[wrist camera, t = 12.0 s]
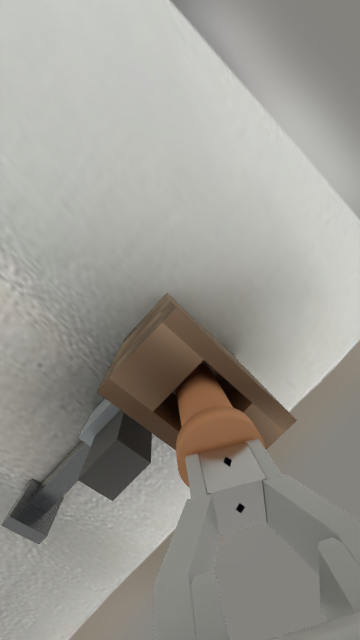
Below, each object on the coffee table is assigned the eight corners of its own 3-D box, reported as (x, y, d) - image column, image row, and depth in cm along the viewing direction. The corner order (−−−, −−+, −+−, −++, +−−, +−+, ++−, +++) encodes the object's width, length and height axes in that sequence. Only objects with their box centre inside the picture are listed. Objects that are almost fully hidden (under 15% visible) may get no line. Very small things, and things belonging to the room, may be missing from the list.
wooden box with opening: (196, 397, 23) (226, 487, 13) (125, 338, 21) (96, 392, 11) (235, 358, 22) (296, 420, 12) (166, 293, 20) (175, 307, 10)
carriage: (128, 438, 22) (114, 516, 15) (90, 412, 21) (55, 482, 14) (166, 399, 22) (171, 460, 15) (129, 370, 21) (114, 420, 14)
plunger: (195, 414, 15) (221, 509, 9) (158, 384, 14) (158, 466, 8) (230, 379, 15) (282, 452, 9) (194, 347, 14) (223, 401, 8)
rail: (56, 504, 23) (38, 544, 20) (25, 486, 23) (1, 525, 19) (174, 382, 22) (178, 402, 19) (146, 359, 21) (144, 375, 18)
